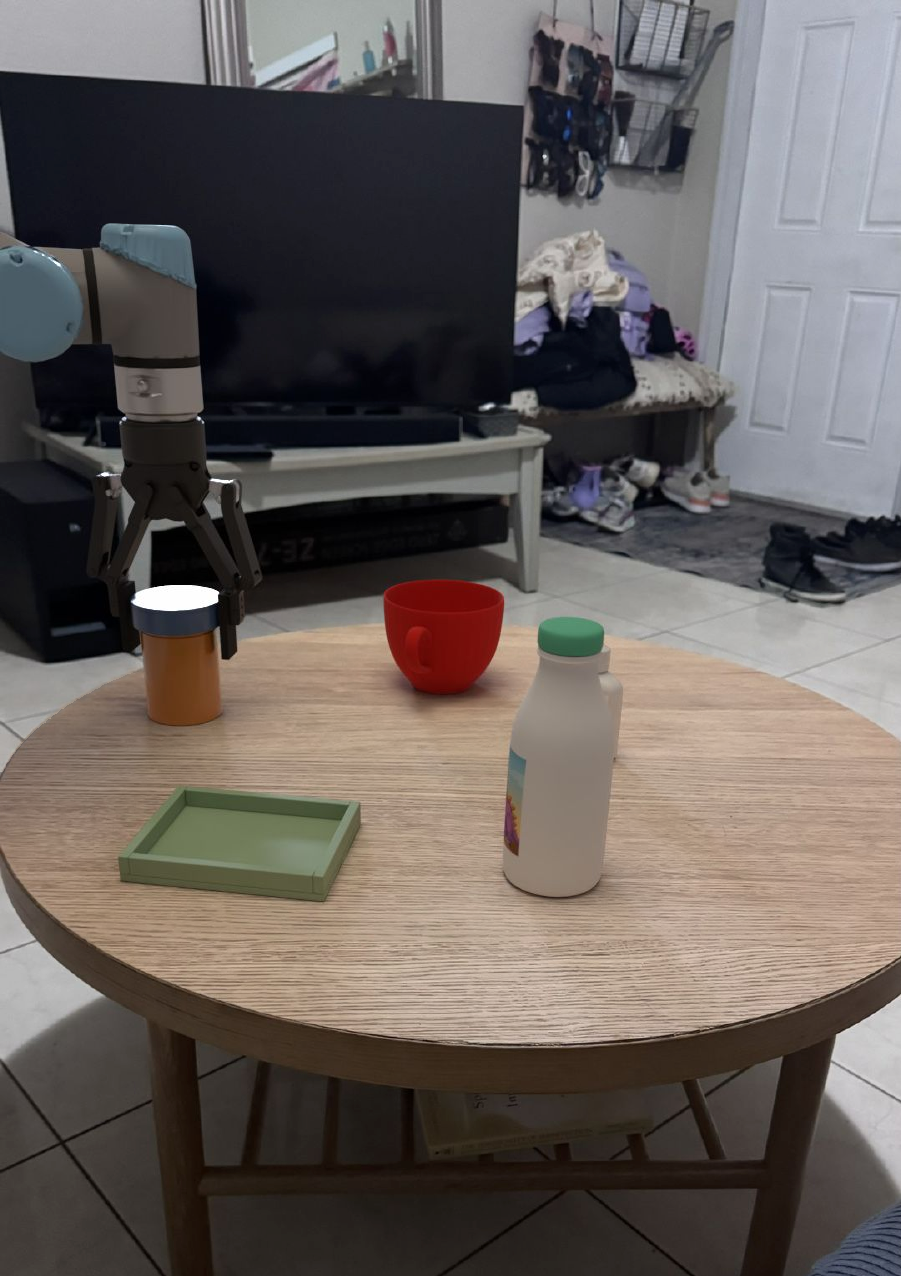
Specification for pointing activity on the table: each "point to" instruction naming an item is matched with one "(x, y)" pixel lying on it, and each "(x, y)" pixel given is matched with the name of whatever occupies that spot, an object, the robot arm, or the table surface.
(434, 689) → the ceramic cup
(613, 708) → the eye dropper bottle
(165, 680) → the jar
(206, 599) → the lid
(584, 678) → the milk bottle
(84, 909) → the table surface
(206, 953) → the table surface
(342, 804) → the tray
